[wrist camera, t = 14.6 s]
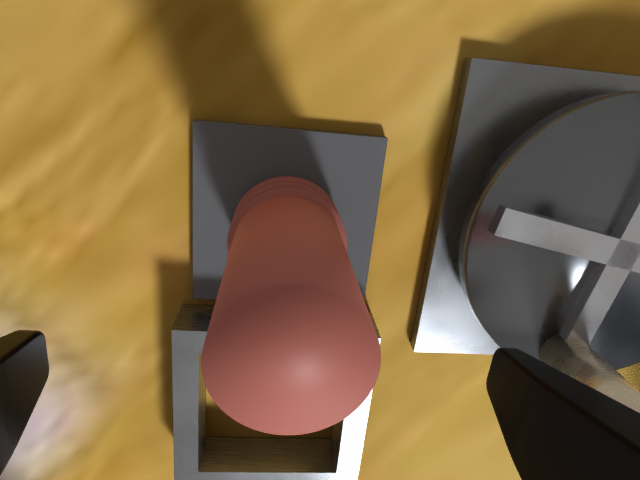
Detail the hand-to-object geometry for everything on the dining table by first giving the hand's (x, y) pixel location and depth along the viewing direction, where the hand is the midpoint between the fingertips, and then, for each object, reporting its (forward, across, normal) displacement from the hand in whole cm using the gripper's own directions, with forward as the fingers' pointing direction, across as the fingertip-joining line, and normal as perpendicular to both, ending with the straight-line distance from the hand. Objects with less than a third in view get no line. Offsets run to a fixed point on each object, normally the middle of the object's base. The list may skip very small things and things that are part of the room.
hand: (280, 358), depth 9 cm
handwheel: (+8, -12, 0) cm, 14 cm away
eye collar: (+9, 0, +8) cm, 12 cm away
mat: (+9, 0, 0) cm, 9 cm away
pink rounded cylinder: (+9, 0, 0) cm, 9 cm away
